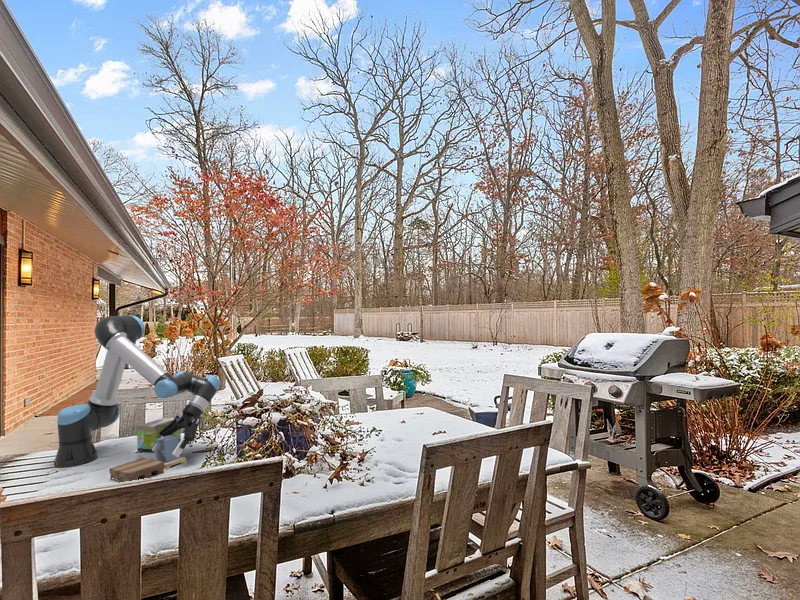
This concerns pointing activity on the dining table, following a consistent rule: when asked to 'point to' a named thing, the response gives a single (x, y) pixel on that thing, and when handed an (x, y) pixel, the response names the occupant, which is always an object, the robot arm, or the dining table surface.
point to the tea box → (151, 437)
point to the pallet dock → (137, 469)
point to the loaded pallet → (168, 451)
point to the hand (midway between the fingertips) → (164, 453)
